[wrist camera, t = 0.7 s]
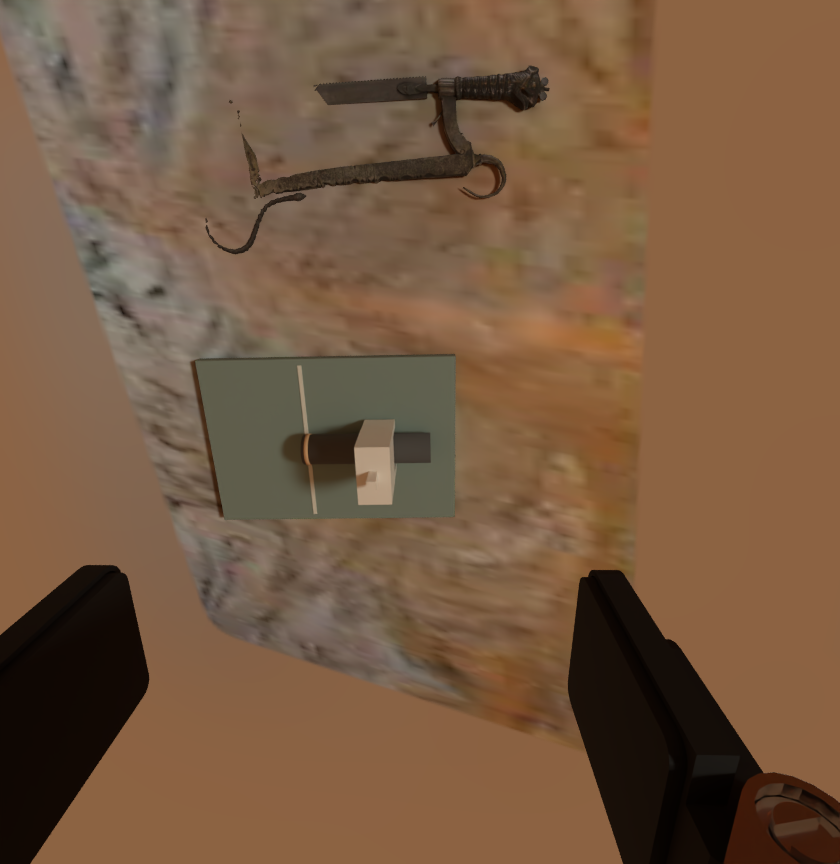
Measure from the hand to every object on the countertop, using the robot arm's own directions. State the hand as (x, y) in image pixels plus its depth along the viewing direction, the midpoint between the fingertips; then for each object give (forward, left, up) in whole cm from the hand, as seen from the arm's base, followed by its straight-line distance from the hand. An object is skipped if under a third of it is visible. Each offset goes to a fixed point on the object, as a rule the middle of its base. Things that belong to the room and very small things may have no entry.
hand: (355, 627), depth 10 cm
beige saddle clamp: (+8, -2, -28) cm, 30 cm away
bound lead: (+8, -3, -29) cm, 30 cm away
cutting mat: (+8, -6, -30) cm, 31 cm away
